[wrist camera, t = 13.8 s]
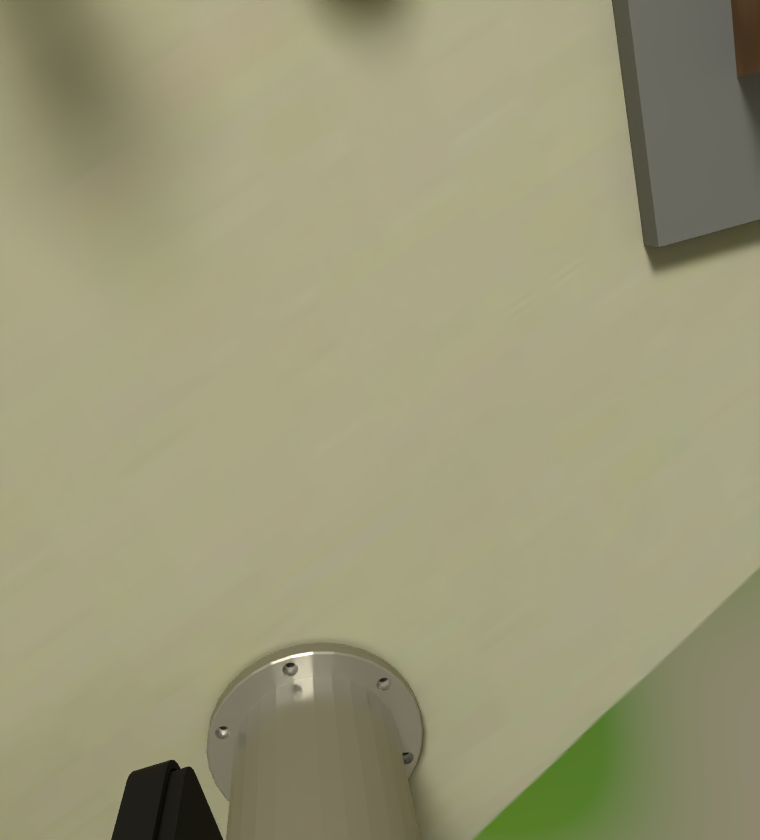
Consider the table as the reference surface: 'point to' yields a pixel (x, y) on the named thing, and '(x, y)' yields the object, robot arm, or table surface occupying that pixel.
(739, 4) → the open wooden cubby
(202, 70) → the table surface
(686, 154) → the plate
